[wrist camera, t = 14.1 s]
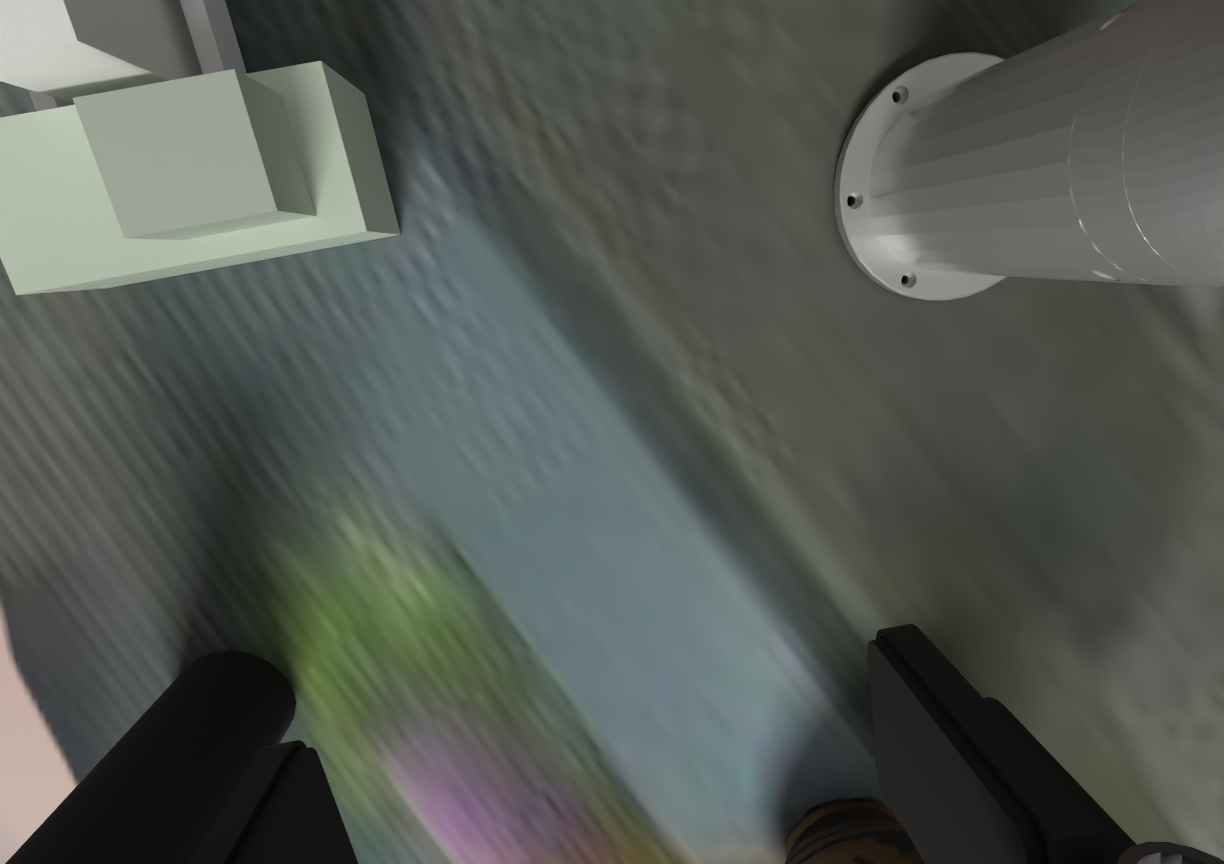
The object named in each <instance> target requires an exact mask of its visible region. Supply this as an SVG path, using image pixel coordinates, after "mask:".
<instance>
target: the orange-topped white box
mask: <svg viewBox="0 0 1224 864" xmlns="http://www.w3.org/2000/svg"><path fill="white" fill-rule="evenodd" d="M198 75H203V72H202V69H201V66H200V63H199V59H198V56H197V53H196V50H195V47H194V44H193V40H192V37H191V34H190V31H189V28H188V25H187V21H186V18H185V15H184V12H183V9H182V6H181V3H180V0H0V81H2V82H5V83H9V84H12V85H15V86H19V87H22V88H25V89H29V90H32V91H35V92H39V93H42V94H45V95H49V96H52V97H55V98H59V99H62V100H65V101H69V102H72V103H74V101H73V99H72V98H75V97H81V96H86V95H92V94H97V93H103V92H109V91H114V90H120V89H125V88H131V87H136V86H142V85H148V84H153V83H159V82H164V81H170V80H176V79H181V78H187V77H192V76H198Z"/></svg>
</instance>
